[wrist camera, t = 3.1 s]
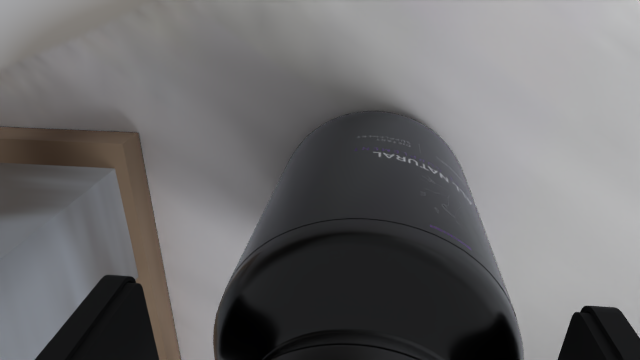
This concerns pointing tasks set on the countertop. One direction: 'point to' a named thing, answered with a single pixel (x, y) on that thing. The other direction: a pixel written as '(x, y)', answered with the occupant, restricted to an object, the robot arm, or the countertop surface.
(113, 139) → the rail
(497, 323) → the supplement bottle
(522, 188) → the countertop surface
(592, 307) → the robot arm
